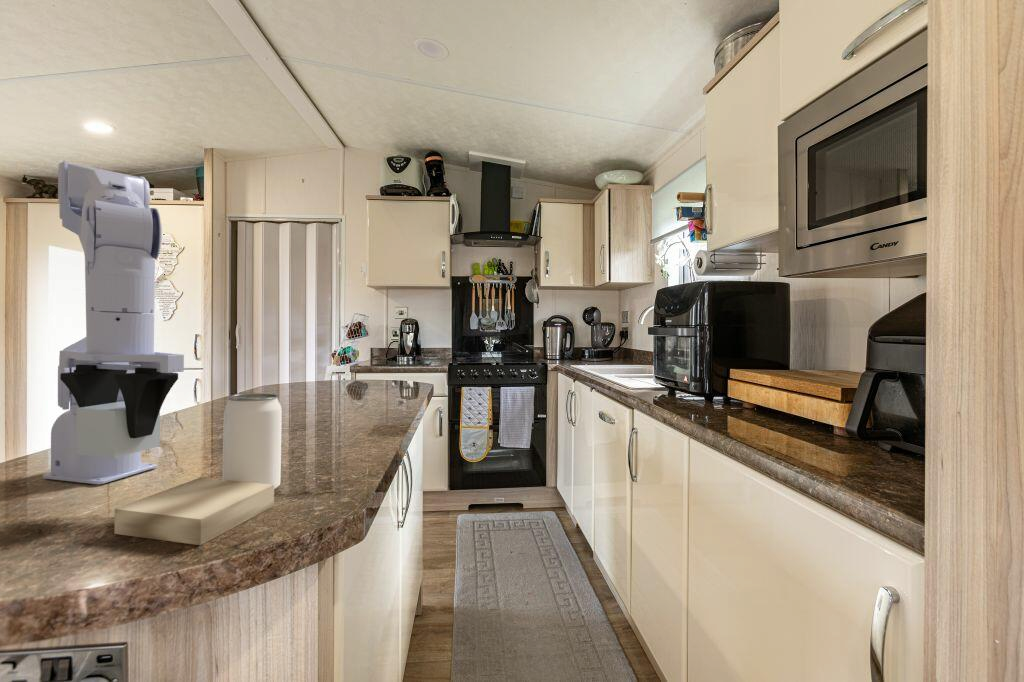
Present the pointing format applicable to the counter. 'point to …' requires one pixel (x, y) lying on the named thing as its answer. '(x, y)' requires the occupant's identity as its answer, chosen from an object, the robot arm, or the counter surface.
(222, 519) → the base
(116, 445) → the block
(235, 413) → the can
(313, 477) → the counter surface
